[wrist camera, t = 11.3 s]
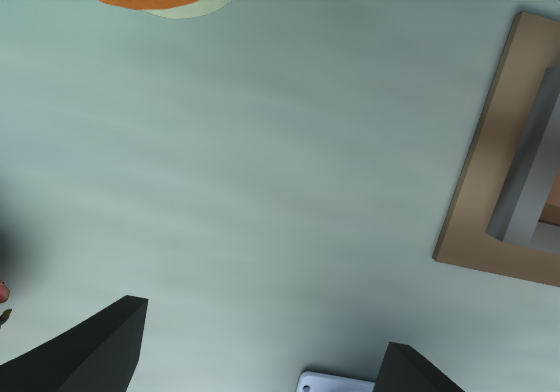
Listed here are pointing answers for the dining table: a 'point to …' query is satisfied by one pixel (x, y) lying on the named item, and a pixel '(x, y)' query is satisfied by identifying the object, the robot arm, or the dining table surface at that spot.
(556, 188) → the beige upright block
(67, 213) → the dining table surface
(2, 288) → the dragon fruit
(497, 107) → the socket board
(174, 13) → the reusable coffee cup
